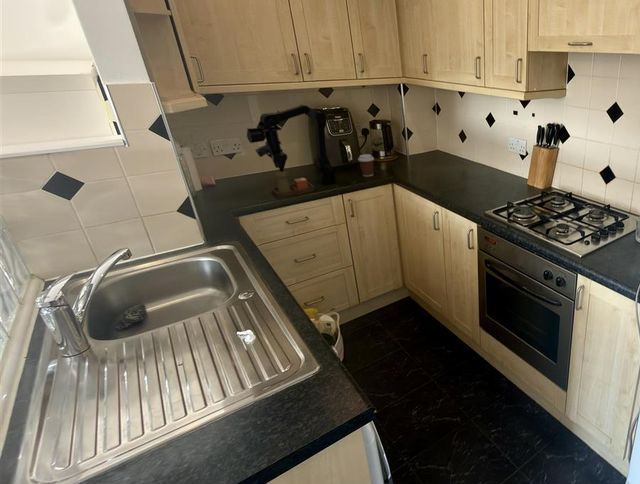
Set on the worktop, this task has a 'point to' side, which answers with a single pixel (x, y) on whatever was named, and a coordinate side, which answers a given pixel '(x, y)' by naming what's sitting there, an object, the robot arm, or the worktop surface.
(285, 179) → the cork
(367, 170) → the coffee cup
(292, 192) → the sorting tray
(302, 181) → the terracotta block
